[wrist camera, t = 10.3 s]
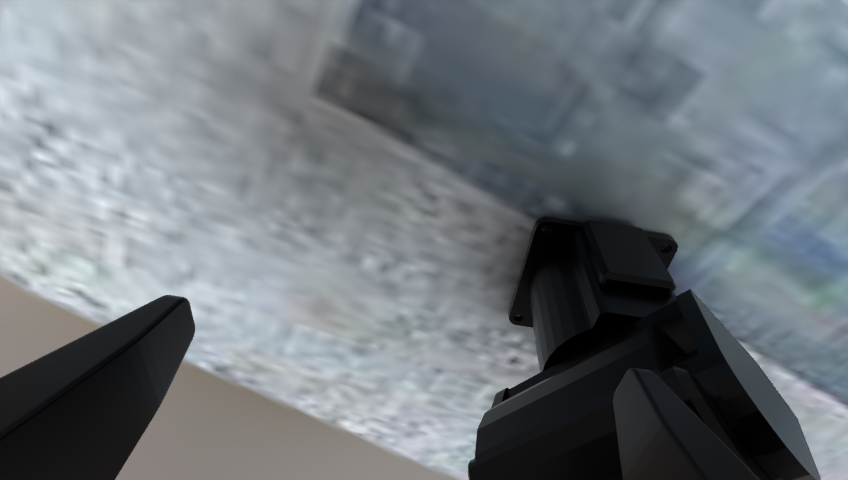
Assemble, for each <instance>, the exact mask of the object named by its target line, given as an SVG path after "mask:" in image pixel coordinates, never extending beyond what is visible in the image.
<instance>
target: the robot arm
mask: <svg viewBox="0 0 848 480" xmlns="http://www.w3.org/2000/svg"><path fill="white" fill-rule="evenodd" d="M545 226H549V227H551V228H550V229H549V230H547V231H542V230H541V229H542V228H543V227H545ZM665 244H669V245H668V246H667V247H666V248H664V249H660V248H661V247H662V246H663V245H665ZM677 248H678V245H677V243H676V242H675V240H674V239H673V238H672V237H671V236H668V235H663V234H656V233H650V232H644V231H643V230H642V229H641V228H637V227H630V226H624V225H617V224H610V223H604V222H597V221H590V220H589V221H586V222H576V221H570V220H563V219H556V218H550V217H543V218H541V219H539V220H538V221H537V222H536V223H535V225H534V229H533V232H532V236H531V239H530V242H529V246H528V249H527V252H526V256H525V259H524V262H523V266H522V269H521V272H520V276H519V279H518V282H517V286H516V289H515V293H514V296H513V299H512V303H511V306H510V309H509V320H510V322H511V323H513V324H515V325H521V326H527V327H533V328H534V334H535V341H536V347H537V354H538V361H539V367H540V373H539V374H537V375H535V376H533V377H532V378H530V379H528V380H526V381H524V382H522V383H520V384H519V385H517V386H515V387H513V388H511V389H508V388H506V389H504V390H502V391H500V392H498V393H497V394H496V395H495V398H494V402H493V405H492V408H491V409H490V410H489V411H487V412H486V413H485V414H484V416H483V418H482V421H481V423H480V425H479V427H478V430H477V440H476V451H475V459H473V460H471V461H470V462H469V465H468V477H469V480H821V479H820V475H819V473H818V470H817V468H816V465H815V462H814V460H813V457H812V455H811V452H810V450H809V447H808V445H807V442H806V439H805V437H804V434H803V432H802V429H801V427H800V424H799V421H798V419H797V418H796V416H795V414H794V413H793V412H792V410H791V409H790V407H789V406H788V405H787V403H786V402H785V401H784V399H783V398H782V397H781V395H780V394H779V392H778V391H777V390H776V388H775V387H774V386H773V384H772V383H771V381H770V380H769V379H768V377H767V376H766V375H765V373H764V372H763V371H762V369H761V368H760V366H759V365H758V364H757V362H756V361H755V360H754V359H753V358H752V357H751V355H750V354H749V353H748V352H747V351H746V350H745V349H744V348H743V347H742V346H741V344H740V343H739V342H738V341H737V340H736V339H735V338H734V337H733V336H732V334H731V333H730V332H729V331H728V330H727V329H726V328H725V327H724V326H723V324H722V323H721V322H720V321H719V320H718V319H717V318H716V317H715V316H714V315H713V313H712V312H711V311H710V310H709V309H708V308H707V307H706V306H705V305H704V303H703V302H702V301H701V300H700V299H699V298H698V297H697V296H696V295H695V294H694V292H693V291H692V290H691V289H689V290H687V291H686V292H684V293H682V294H680V295H678V296H676V295H675V293H674V291H675V289H676V284H675V282H674V281H673V279H672V277H671V276H670V274H669V272H668V271H667V268H668V267H669V265H670V263H671V261H672V259H673V257H674V255H675V253H676V251H677ZM519 314H520V315H521V316H515V315H519ZM194 333H195V324H194V320H193V316H192V311H191V307H190V303H189V301H188V300H187V299H186V298H184V297H179V296H173V295H165V296H162V297H160V298H158V299H156V300H154V301H152V302H150V303H148V304H146V305H144V306H142V307H140V308H138V309H136V310H134V311H132V312H130V313H128V314H126V315H124V316H122V317H120V318H118V319H116V320H114V321H112V322H110V323H108V324H106V325H104V326H102V327H100V328H98V329H96V330H94V331H93V332H90V333H89V334H86V335H85V336H83V337H81V338H79V339H77V340H75V341H73V342H71V343H69V344H67V345H65V346H63V347H61V348H59V349H57V350H55V351H53V352H51V353H49V354H47V355H45V356H43V357H41V358H39V359H37V360H35V361H33V362H31V363H29V364H27V365H25V366H23V367H21V368H19V369H17V370H15V371H13V372H11V373H9V374H7V375H5V376H3V377H1V378H0V480H115V478H116V477H117V475H118V474H119V472H120V470H121V469H122V467H123V466H124V464H125V462H126V461H127V459H128V457H129V456H130V454H131V453H132V451H133V449H134V448H135V446H136V444H137V443H138V441H139V439H140V438H141V436H142V434H143V433H144V431H145V430H146V428H147V427H148V425H149V423H150V422H151V420H152V418H153V417H154V415H155V413H156V412H157V410H158V408H159V407H160V405H161V403H162V401H163V399H164V397H165V395H166V393H167V391H168V389H169V387H170V385H171V383H172V381H173V379H174V377H175V374H176V372H177V370H178V368H179V366H180V364H181V362H182V360H183V358H184V356H185V354H186V352H187V349H188V347H189V345H190V343H191V341H192V339H193V337H194Z"/></svg>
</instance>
